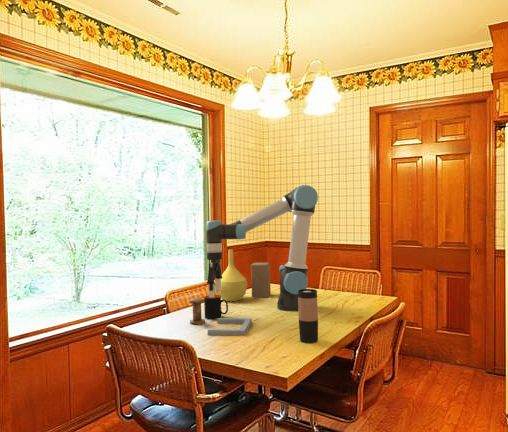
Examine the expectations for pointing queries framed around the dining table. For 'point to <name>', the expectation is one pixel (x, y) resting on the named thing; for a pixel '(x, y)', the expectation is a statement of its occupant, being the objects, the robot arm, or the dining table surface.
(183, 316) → the dining table surface
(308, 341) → the travel mug
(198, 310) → the bobbin post
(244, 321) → the notch board
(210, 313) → the mug
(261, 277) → the wooden block
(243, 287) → the vase
